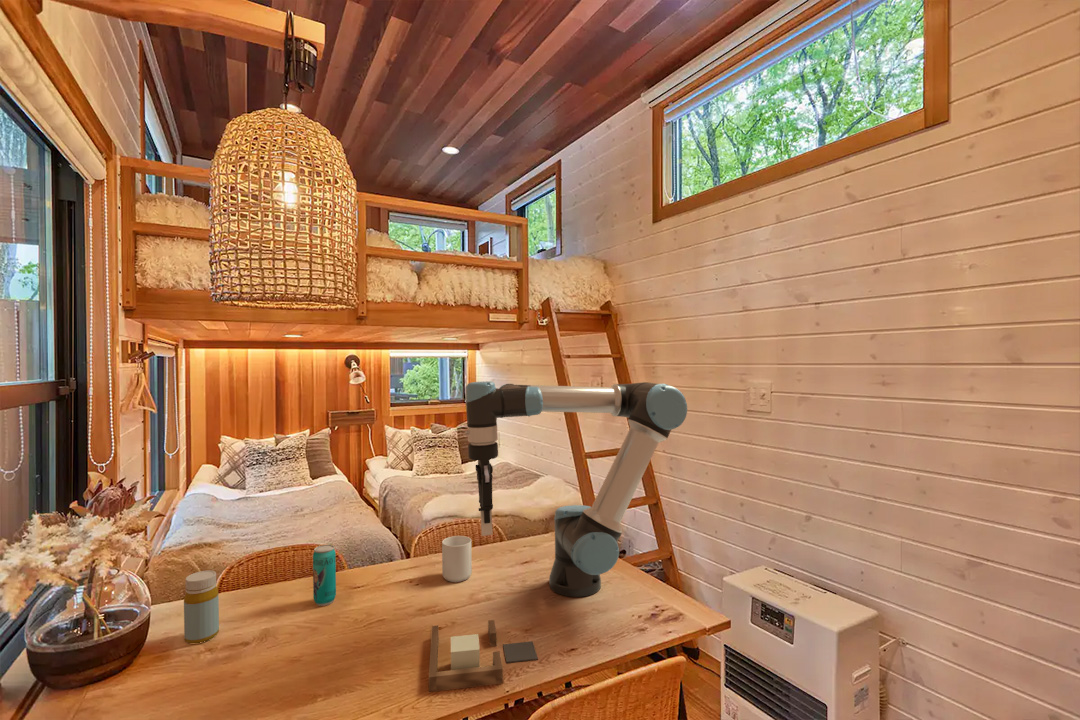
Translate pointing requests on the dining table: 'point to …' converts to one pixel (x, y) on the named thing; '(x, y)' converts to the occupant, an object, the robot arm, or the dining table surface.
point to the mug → (456, 558)
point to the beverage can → (324, 575)
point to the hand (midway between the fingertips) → (487, 534)
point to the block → (465, 652)
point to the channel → (464, 676)
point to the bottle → (201, 607)
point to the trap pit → (520, 652)
